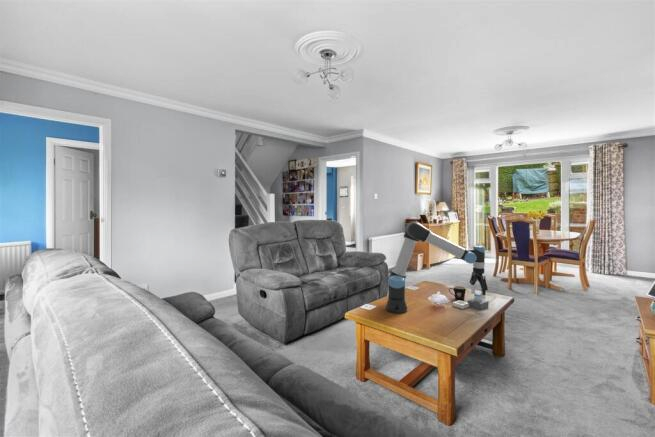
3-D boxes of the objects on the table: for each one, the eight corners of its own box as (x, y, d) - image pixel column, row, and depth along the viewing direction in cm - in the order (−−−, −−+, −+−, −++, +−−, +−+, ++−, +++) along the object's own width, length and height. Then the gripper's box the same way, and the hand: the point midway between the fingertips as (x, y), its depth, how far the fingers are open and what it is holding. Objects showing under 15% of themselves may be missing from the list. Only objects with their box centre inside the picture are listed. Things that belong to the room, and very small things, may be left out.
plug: (474, 307, 228) (474, 293, 228) (477, 306, 230) (477, 292, 230) (478, 308, 225) (479, 295, 225) (481, 307, 227) (481, 294, 227)
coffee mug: (467, 300, 244) (468, 287, 243) (461, 302, 239) (461, 289, 238) (454, 296, 253) (454, 284, 253) (447, 298, 248) (448, 286, 248)
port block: (467, 306, 229) (467, 299, 229) (475, 304, 235) (475, 297, 234) (480, 310, 221) (480, 303, 221) (488, 308, 226) (488, 301, 226)
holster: (452, 306, 229) (452, 302, 229) (459, 304, 234) (459, 300, 234) (462, 310, 223) (462, 305, 223) (469, 307, 227) (469, 303, 227)
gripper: (493, 271, 214) (493, 301, 215) (474, 263, 239) (474, 291, 240) (483, 271, 213) (482, 302, 215) (465, 263, 238) (464, 291, 240)
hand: (478, 296), depth 227 cm, fingers open, 13 cm apart
